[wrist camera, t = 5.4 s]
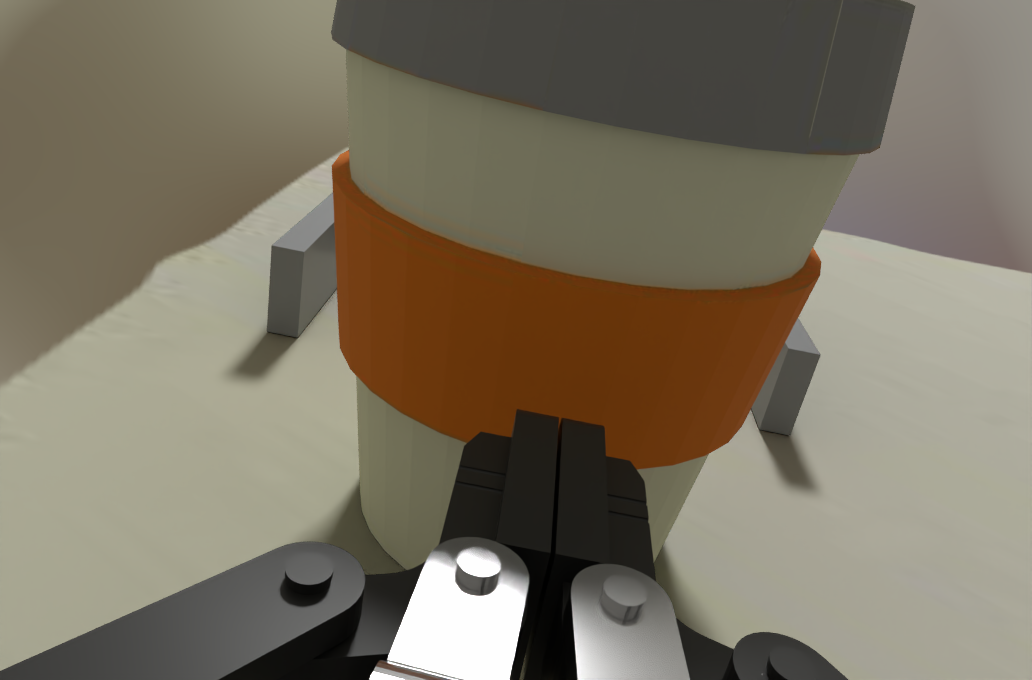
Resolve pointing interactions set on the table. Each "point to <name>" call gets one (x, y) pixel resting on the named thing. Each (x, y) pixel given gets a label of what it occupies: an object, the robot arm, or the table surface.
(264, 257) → the table surface
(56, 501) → the table surface
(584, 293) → the reusable coffee cup
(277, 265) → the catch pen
